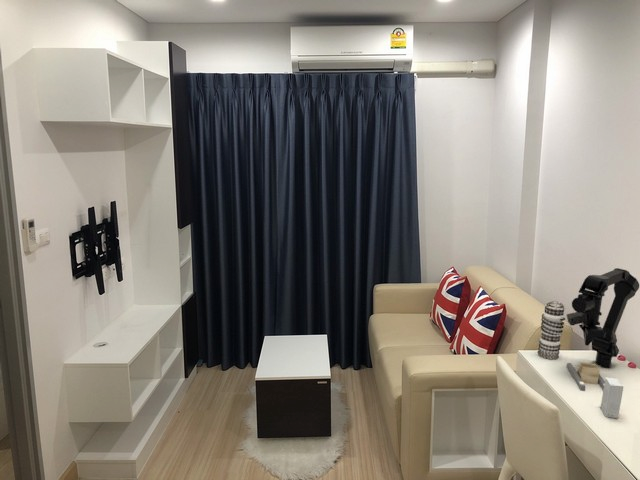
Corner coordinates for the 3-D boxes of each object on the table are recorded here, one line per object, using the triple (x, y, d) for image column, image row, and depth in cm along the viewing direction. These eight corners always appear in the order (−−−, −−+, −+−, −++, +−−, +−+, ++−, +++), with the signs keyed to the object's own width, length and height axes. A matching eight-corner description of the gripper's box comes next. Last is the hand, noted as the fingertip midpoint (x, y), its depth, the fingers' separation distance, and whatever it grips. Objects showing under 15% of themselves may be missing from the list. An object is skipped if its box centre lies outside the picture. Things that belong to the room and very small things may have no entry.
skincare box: (618, 418, 181) (624, 386, 179) (605, 417, 182) (610, 385, 180) (612, 409, 187) (618, 378, 185) (599, 408, 188) (604, 377, 186)
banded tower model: (551, 352, 233) (559, 299, 228) (563, 362, 224) (571, 306, 219) (532, 353, 232) (539, 299, 226) (543, 362, 223) (551, 306, 217)
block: (577, 376, 209) (579, 362, 208) (593, 378, 208) (595, 364, 207) (580, 382, 204) (583, 367, 203) (597, 384, 203) (599, 369, 202)
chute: (563, 369, 218) (564, 361, 217) (594, 372, 216) (596, 365, 215) (577, 392, 199) (578, 384, 198) (611, 396, 196) (613, 388, 196)
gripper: (564, 298, 217) (559, 334, 220) (576, 314, 199) (571, 352, 202) (593, 301, 215) (587, 336, 218) (608, 316, 197) (602, 355, 200)
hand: (586, 345), depth 210 cm, fingers closed
